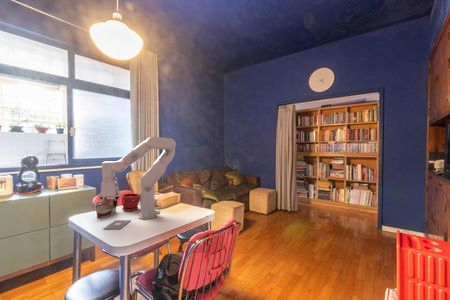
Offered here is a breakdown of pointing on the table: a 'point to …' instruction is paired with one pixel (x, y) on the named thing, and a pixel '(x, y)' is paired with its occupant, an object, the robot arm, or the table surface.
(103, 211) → the food container
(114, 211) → the grey narrow block
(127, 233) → the table surface
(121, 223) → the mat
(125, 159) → the robot arm
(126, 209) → the plant pot
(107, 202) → the walnut block
